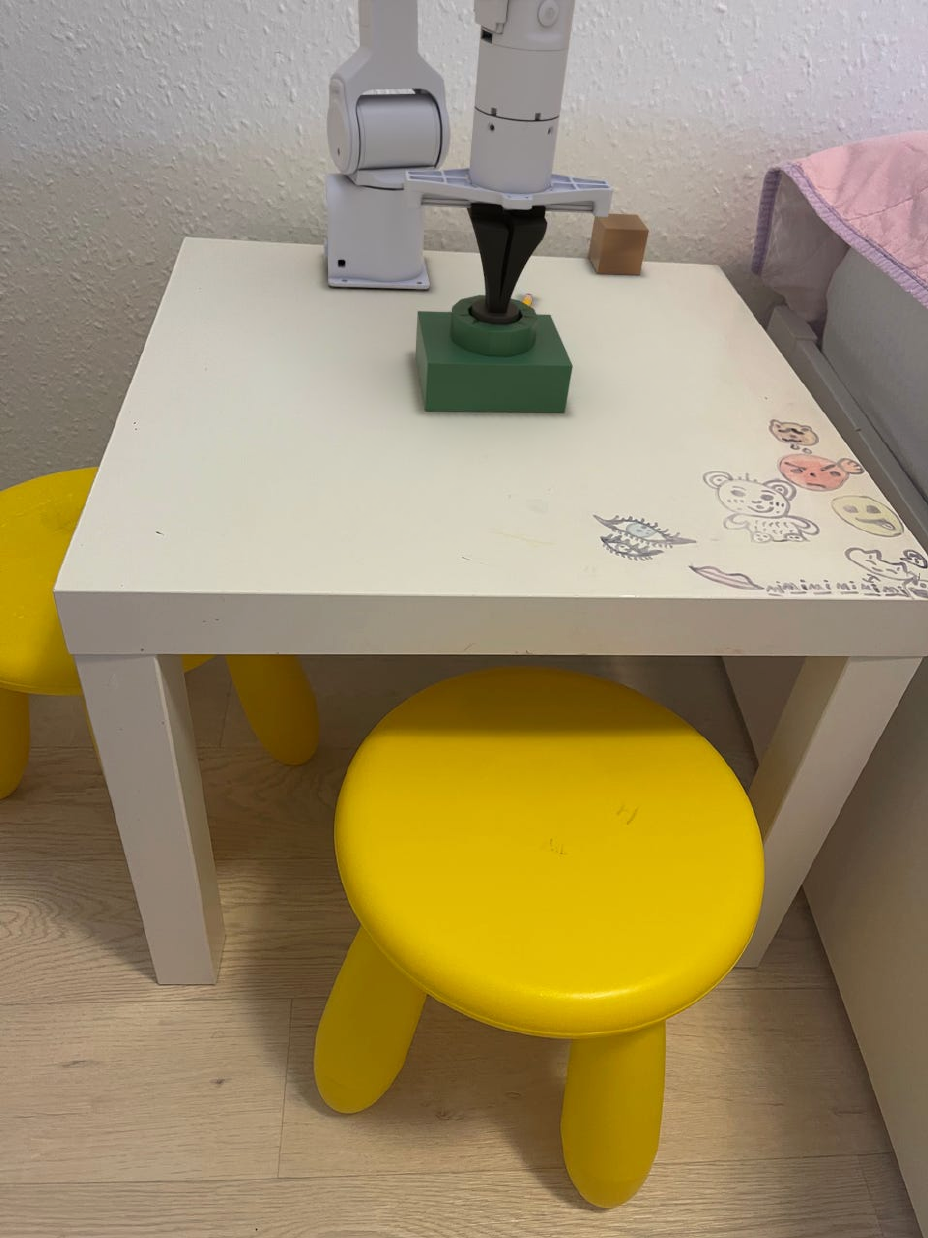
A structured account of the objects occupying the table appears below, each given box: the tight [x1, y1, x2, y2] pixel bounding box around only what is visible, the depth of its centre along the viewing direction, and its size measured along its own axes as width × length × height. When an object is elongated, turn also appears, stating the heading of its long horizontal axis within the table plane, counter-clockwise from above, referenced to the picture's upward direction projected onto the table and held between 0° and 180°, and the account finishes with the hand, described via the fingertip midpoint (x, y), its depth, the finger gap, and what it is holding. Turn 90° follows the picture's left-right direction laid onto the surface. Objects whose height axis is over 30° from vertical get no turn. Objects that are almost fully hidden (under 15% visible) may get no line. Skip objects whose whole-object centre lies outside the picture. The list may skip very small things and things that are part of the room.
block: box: [587, 213, 650, 276], centre depth 94 cm, size 4×4×4 cm
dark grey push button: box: [471, 298, 519, 325], centre depth 71 cm, size 4×4×2 cm
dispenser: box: [414, 294, 573, 414], centre depth 72 cm, size 11×9×6 cm
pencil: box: [522, 292, 534, 307], centre depth 85 cm, size 1×9×1 cm, turn 168°
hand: (495, 307), depth 70 cm, fingers closed, pressing on dark grey push button
